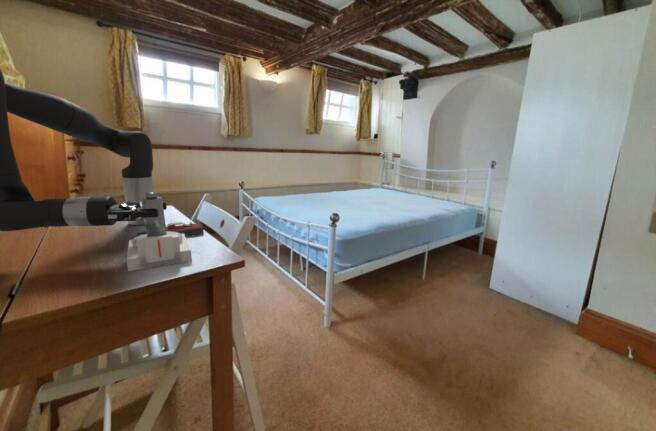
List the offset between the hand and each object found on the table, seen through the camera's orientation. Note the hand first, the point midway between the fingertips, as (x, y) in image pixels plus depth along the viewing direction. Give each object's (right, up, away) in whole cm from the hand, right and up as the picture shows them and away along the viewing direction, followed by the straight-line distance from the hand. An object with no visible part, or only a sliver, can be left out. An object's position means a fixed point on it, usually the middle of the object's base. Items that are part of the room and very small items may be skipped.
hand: (162, 209), depth 79 cm
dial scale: (-1, -13, +1) cm, 13 cm away
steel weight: (-2, -8, +1) cm, 8 cm away
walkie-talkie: (-7, -9, +18) cm, 22 cm away
